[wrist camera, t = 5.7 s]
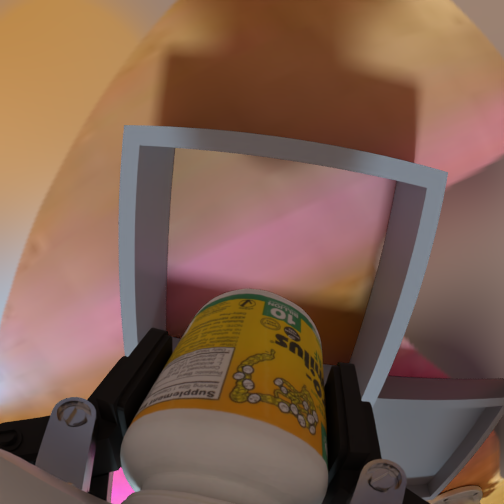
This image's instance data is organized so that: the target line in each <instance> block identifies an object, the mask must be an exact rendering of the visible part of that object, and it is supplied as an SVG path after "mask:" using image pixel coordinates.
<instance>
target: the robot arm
mask: <svg viewBox="0 0 504 504" xmlns="http://www.w3.org/2000/svg"><path fill="white" fill-rule="evenodd" d="M171 355H172V336H168V332H167V331H165V330H161V329H157V328H151V329H150V330H149V331H148V332H147V334H146V335H145V336H144V337H143V339H142V340H141V341H140V342H139V344H138V345H137V346H136V347H135V349H134V350H133V351H132V352H131V354H130V355H129V356H128V357H127V356H123V357H122V358H121V359H120V360H119V361H118V362H117V364H116V365H115V366H114V367H113V368H112V370H111V371H110V372H109V373H108V375H107V376H106V377H105V378H104V380H103V381H102V382H101V383H100V385H99V386H98V387H97V388H96V390H95V391H94V392H93V393H92V395H91V396H90V397H89V398H88V400H86V399H83V398H79V397H71V398H66V399H63V400H61V401H59V402H58V403H57V404H56V405H55V407H54V408H53V410H52V413H51V416H46V417H40V418H33V419H27V420H20V421H12V422H5V423H1V424H0V504H112V503H111V493H112V482H113V471H116V470H119V468H120V467H122V466H121V458H120V452H121V444H122V441H123V438H124V436H125V434H126V432H127V430H128V428H129V426H130V424H131V423H132V421H133V419H134V417H135V415H136V414H137V412H138V410H139V408H140V407H141V405H142V403H143V401H144V400H145V398H146V397H147V395H148V393H149V392H150V390H151V388H152V386H153V385H154V383H155V381H156V380H157V378H158V376H159V375H160V373H161V372H162V370H163V368H164V367H165V365H166V363H167V362H168V360H169V358H170V357H171ZM324 389H325V405H326V410H325V411H326V422H327V445H328V487H327V492H326V495H325V497H324V500H323V502H322V504H480V500H481V498H482V496H483V492H482V490H481V488H480V487H479V486H465V487H460V488H457V489H453V490H451V491H448V492H445V493H443V494H440V495H438V496H436V497H435V498H434V499H433V500H428V501H425V500H424V499H422V498H421V497H419V496H418V495H416V494H415V493H413V492H412V491H410V490H409V489H407V488H406V483H407V477H406V474H405V471H404V470H403V469H402V468H401V466H399V465H398V464H397V463H395V462H393V461H390V460H386V459H382V457H381V451H380V446H379V440H378V435H377V430H376V424H375V419H374V414H373V409H372V405H371V403H370V402H367V401H362V400H361V394H360V389H359V384H358V379H357V373H356V368H355V365H354V364H350V363H342V362H338V364H337V366H331V369H330V372H329V375H328V378H327V381H326V384H325V387H324Z"/></svg>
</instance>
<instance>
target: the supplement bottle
mask: <svg viewBox="0 0 504 504" xmlns="http://www.w3.org/2000/svg"><path fill="white" fill-rule="evenodd" d="M325 410H326V405H325V389H324V373H323V359H322V347H321V340H320V336H319V334H318V331H317V329H316V326H315V324H314V323H313V321H312V320H311V318H310V317H309V315H308V314H307V313H306V312H305V311H304V310H303V309H302V308H300V307H299V306H297V305H296V304H294V303H293V302H291V301H289V300H287V299H285V298H283V297H281V296H279V295H277V294H274V293H272V292H268V291H265V290H257V289H240V290H234V291H230V292H227V293H224V294H222V295H219V296H217V297H215V298H213V299H212V300H210V301H209V302H208V303H207V304H205V305H204V306H203V307H202V308H201V309H200V310H199V311H198V313H197V314H196V315H195V317H194V318H193V320H192V321H191V323H190V324H189V326H188V328H187V329H186V331H185V333H184V334H183V336H182V338H181V340H180V341H179V343H178V344H177V346H176V348H175V350H174V351H173V353H172V355H171V357H170V358H169V360H168V362H167V363H166V365H165V367H164V368H163V370H162V372H161V373H160V375H159V376H158V378H157V380H156V381H155V383H154V385H153V386H152V388H151V390H150V392H149V393H148V395H147V397H146V398H145V400H144V401H143V403H142V405H141V407H140V408H139V410H138V412H137V414H136V415H135V417H134V419H133V421H132V423H131V424H130V426H129V428H128V430H127V432H126V434H125V436H124V438H123V441H122V444H121V452H120V458H121V466H122V469H123V472H124V475H125V477H126V479H127V481H128V482H129V484H130V486H131V487H132V488H133V490H134V491H135V493H132V494H131V495H129V496H128V497H127V499H126V500H124V501H123V502H122V503H121V504H322V502H323V500H324V497H325V495H326V492H327V487H328V445H327V422H326V411H325Z"/></svg>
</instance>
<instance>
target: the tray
mask: <svg viewBox="0 0 504 504" xmlns="http://www.w3.org/2000/svg"><path fill="white" fill-rule="evenodd" d="M372 409H373V414H374V419H375V424H376V430H377V435H378V440H379V446H380V451H381V457H382V459H386V460H390V461H393V462H395V463H397V464H398V465H399V466H401V468H402V469H403V470H404V471H405V474H406V477H407V483H406V488H407V489H409V490H410V491H412V492H413V493H415V494H416V495H418V496H419V497H421V498H422V499H424V500H425V501H428V500H433V499H434V498H435V497H436V496H437V495H438V494H439V493H440V492H441V491H442V490H443V489H444V488H445V487H446V486H447V485H448V484H449V483H450V482H451V481H452V480H453V479H454V477H455V476H456V475H457V474H458V473H459V472H460V471H461V470H462V468H463V467H464V466H465V465H466V464H467V463H468V461H469V460H470V459H471V458H472V457H473V455H474V454H475V453H476V452H477V450H478V449H479V448H480V447H481V445H482V444H483V443H484V441H485V440H486V439H487V437H488V436H489V435H490V433H491V432H492V431H493V429H494V428H495V427H496V425H497V424H498V422H499V421H500V419H501V418H502V416H503V415H504V379H439V378H414V377H397V376H387V378H386V380H385V382H384V385H383V387H382V389H381V391H380V393H379V395H378V398H377V400H376V402H375V404H374V406H373V408H372Z"/></svg>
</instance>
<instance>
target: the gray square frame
mask: <svg viewBox="0 0 504 504" xmlns="http://www.w3.org/2000/svg"><path fill="white" fill-rule="evenodd" d="M175 148H187V149H199V150H210V151H220V152H229V153H238V154H246V155H254V156H262V157H269V158H276V159H283V160H290V161H297V162H303V163H309V164H315V165H321V166H327V167H332V168H338V169H343V170H348V171H353V172H359V173H363V174H368V175H373V176H378V177H383V178H387V179H392V180H396V181H397V183H396V188H395V194H394V199H393V204H392V209H391V214H390V219H389V223H388V228H387V233H386V237H385V241H384V246H383V250H382V254H381V258H380V262H379V266H378V270H377V274H376V277H375V281H374V285H373V288H372V292H371V296H370V299H369V303H368V306H367V309H366V313H365V316H364V319H363V323H362V326H361V329H360V332H359V335H358V338H357V341H356V344H355V347H354V350H353V353H352V356H351V359H350V362H349V363H350V364H354V365H355V368H356V373H357V379H358V384H359V389H360V394H361V400H362V401H367V402H370V403H371V405H372V408H373V406H374V404H375V402H376V400H377V398H378V395H379V393H380V391H381V389H382V387H383V385H384V382H385V380H386V378H387V375H388V373H389V371H390V369H391V366H392V364H393V361H394V359H395V357H396V354H397V352H398V349H399V347H400V344H401V341H402V339H403V336H404V334H405V331H406V328H407V325H408V323H409V320H410V317H411V314H412V311H413V308H414V305H415V303H416V299H417V296H418V293H419V290H420V287H421V284H422V281H423V277H424V274H425V271H426V267H427V263H428V260H429V256H430V252H431V249H432V244H433V241H434V237H435V233H436V229H437V225H438V220H439V216H440V212H441V206H442V202H443V197H444V192H445V187H446V181H447V175H448V172H445V171H441V170H438V169H434V168H431V167H427V166H423V165H419V164H415V163H412V162H408V161H404V160H400V159H395V158H391V157H387V156H382V155H378V154H373V153H369V152H364V151H359V150H354V149H349V148H344V147H339V146H334V145H328V144H322V143H317V142H311V141H304V140H298V139H291V138H284V137H277V136H270V135H262V134H253V133H245V132H235V131H225V130H213V129H201V128H186V127H167V126H135V125H124V134H123V145H122V158H121V173H120V194H119V280H120V301H121V316H122V329H123V340H124V350H125V356H127V357H128V356H129V355H130V354H131V352H132V351H133V350H134V349H135V347H136V346H137V345H138V344H139V342H140V341H141V340H142V339H143V337H144V336H145V335H146V334H147V332H148V331H149V330H150V329H151V328H157V329H161V330H165V331H166V289H167V254H168V232H169V214H170V199H171V186H172V173H173V162H174V152H175ZM180 340H181V339H180V338H175V337H172V353H173V351H174V350H175V348H176V346H177V344H178V343H179V341H180ZM331 366H334V365H326V364H323V373H324V387H325V384H326V381H327V378H328V375H329V372H330V369H331Z"/></svg>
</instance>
